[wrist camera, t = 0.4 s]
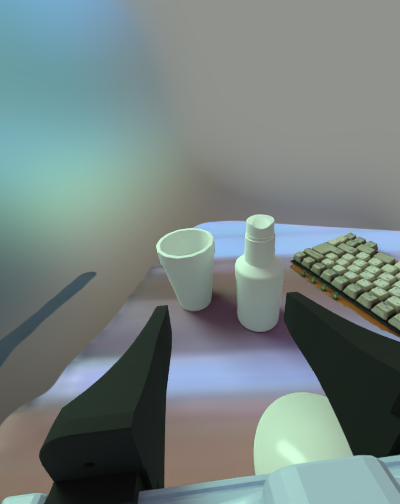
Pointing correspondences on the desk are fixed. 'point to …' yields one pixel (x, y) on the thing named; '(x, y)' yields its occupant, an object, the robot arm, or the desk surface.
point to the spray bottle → (259, 276)
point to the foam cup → (189, 265)
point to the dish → (298, 433)
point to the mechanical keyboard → (355, 278)
